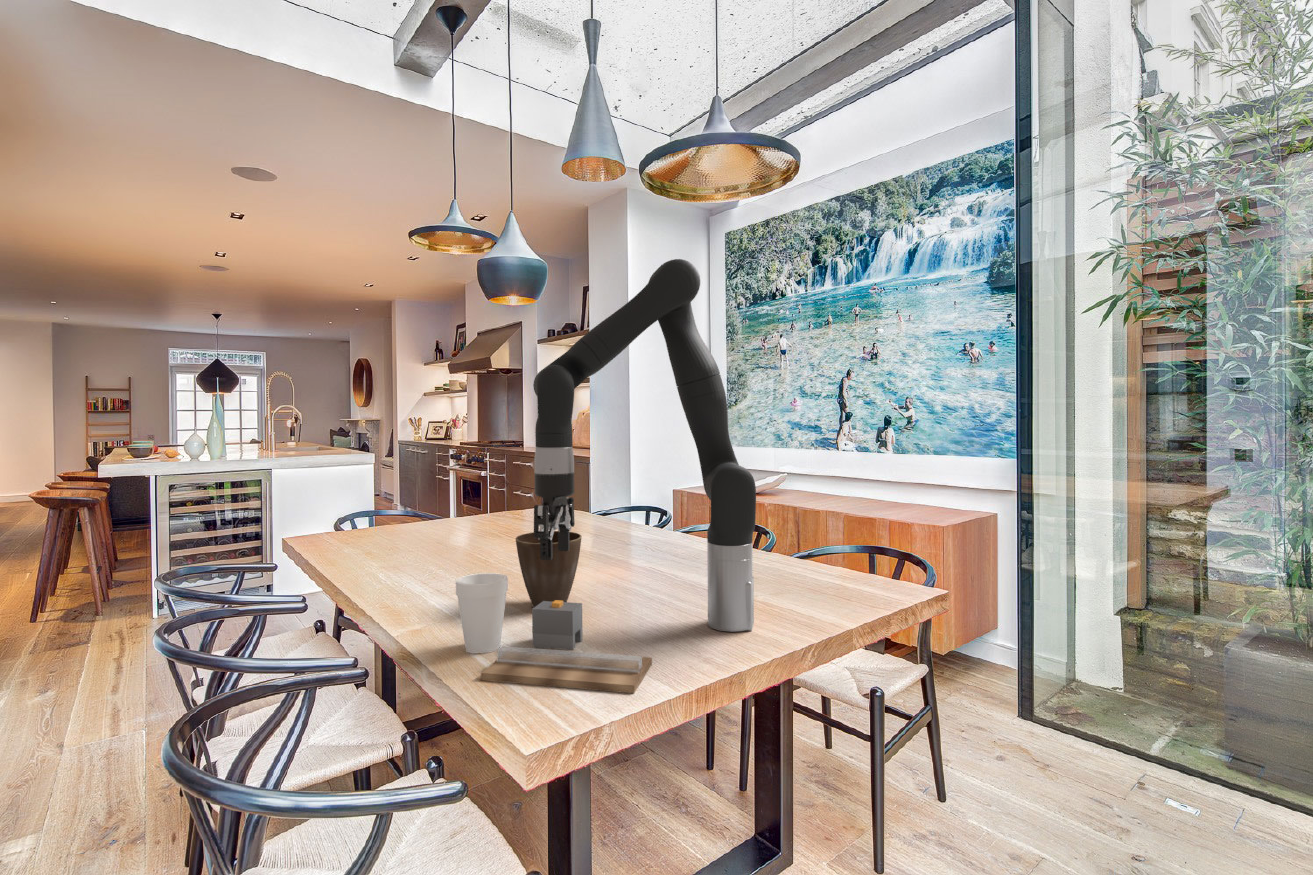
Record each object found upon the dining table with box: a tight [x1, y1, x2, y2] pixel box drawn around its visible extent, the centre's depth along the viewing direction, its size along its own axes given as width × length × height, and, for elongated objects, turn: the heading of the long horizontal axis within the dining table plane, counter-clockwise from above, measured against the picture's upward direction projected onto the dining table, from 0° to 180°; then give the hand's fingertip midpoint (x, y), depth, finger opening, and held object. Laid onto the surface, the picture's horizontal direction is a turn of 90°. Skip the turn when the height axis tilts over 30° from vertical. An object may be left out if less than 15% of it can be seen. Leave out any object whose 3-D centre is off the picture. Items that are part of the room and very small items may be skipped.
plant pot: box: [515, 530, 583, 608], centre depth 148 cm, size 15×15×16 cm
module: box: [531, 600, 584, 651], centre depth 123 cm, size 8×5×8 cm
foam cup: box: [455, 572, 509, 654], centre depth 121 cm, size 10×9×13 cm
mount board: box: [480, 656, 653, 694], centre depth 109 cm, size 26×12×1 cm, turn 77°
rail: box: [496, 645, 643, 674], centre depth 109 cm, size 25×3×2 cm, turn 77°
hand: (555, 555), depth 124 cm, fingers open, 8 cm apart
